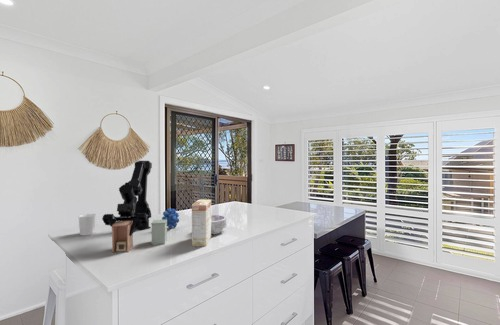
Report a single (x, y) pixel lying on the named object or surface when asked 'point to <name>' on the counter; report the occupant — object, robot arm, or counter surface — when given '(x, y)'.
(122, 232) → the terracotta cover
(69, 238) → the counter surface
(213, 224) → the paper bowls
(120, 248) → the maple cube
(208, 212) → the coffeecake box
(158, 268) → the counter surface
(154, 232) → the sage canister
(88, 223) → the white cup
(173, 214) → the grapes
